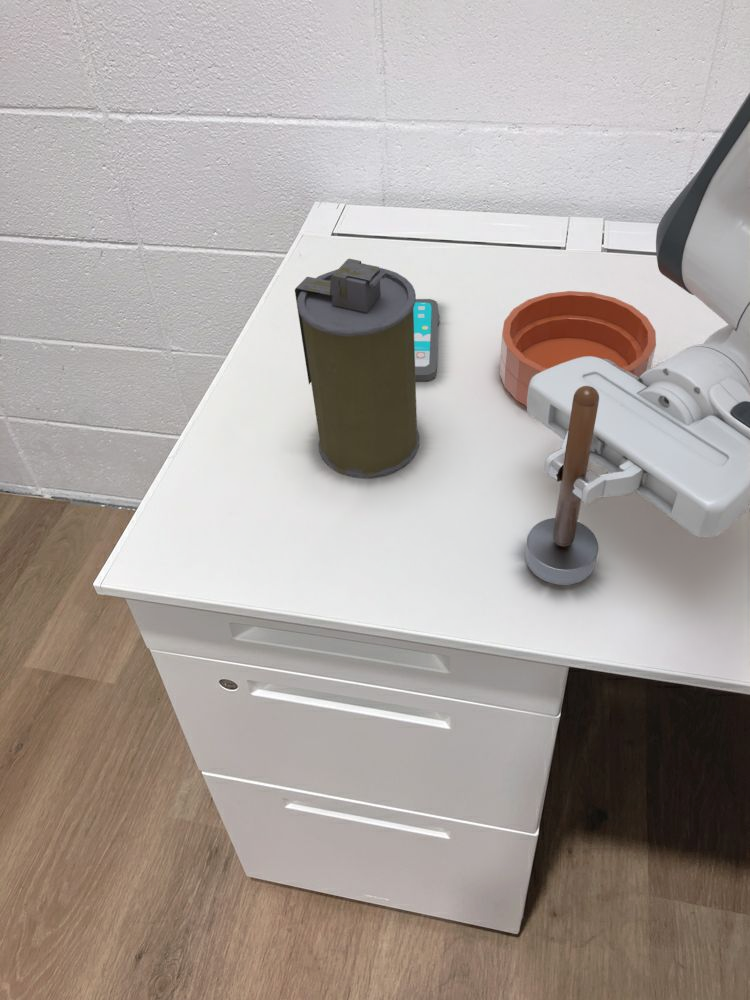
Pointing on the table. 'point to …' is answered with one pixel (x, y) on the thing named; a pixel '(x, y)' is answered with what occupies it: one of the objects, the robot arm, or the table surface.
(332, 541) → the table surface
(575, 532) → the peg on round base
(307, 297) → the canister
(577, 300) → the bowl
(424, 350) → the smartphone
